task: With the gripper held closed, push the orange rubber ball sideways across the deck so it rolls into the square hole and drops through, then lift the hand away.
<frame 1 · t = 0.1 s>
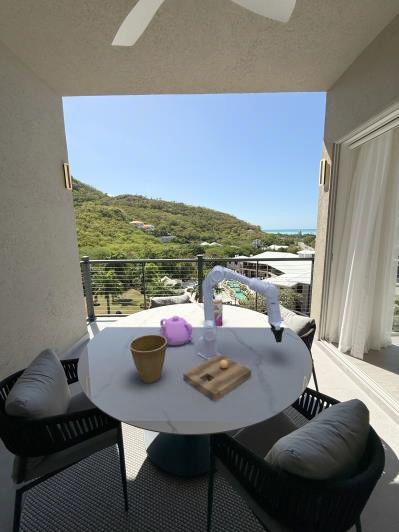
hand: (277, 338, 118), 11 cm above the table, tool pointing down, fingers open, 7 cm apart
deck: (217, 378, 106), on the table
ball: (223, 364, 108), point 5 cm above the table, touching deck
plant pot: (150, 378, 107), on the table
teapot: (174, 342, 139), on the table
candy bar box: (213, 325, 161), on the table
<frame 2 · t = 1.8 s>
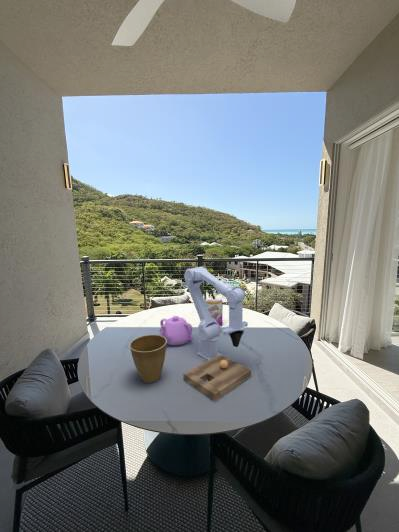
hand: (235, 345, 112), 10 cm above the table, tool pointing down, fingers closed
nothing on the table moved.
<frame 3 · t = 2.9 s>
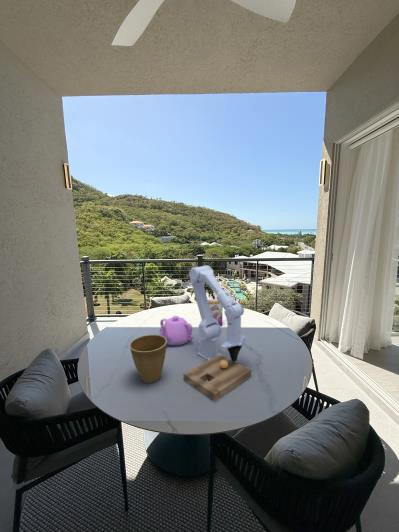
hand: (233, 360, 113), 4 cm above the table, tool pointing down, fingers closed
nothing on the table moved.
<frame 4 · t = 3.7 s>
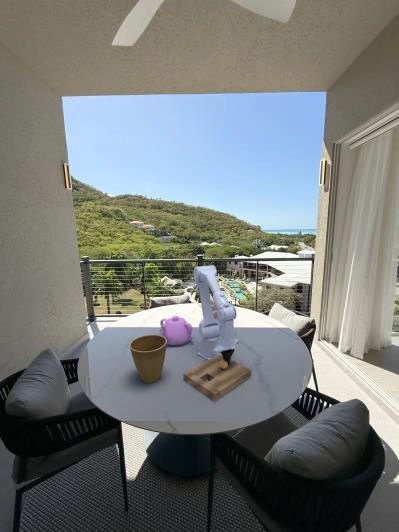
hand: (226, 364, 109), 4 cm above the table, tool pointing down, fingers closed, pressing on ball
ball: (223, 364, 108), point 5 cm above the table, tilted 8°, touching deck, gripper
everything else where it was.
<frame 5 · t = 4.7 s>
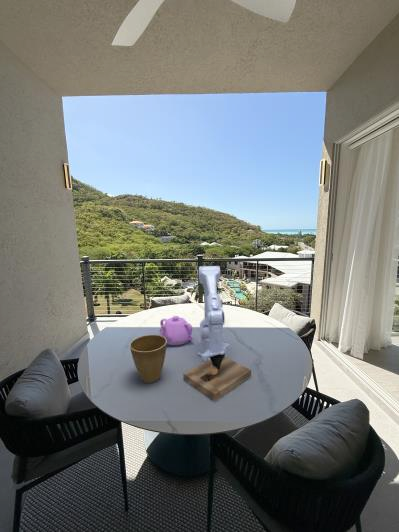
hand: (216, 370, 105), 4 cm above the table, tool pointing down, fingers closed, pressing on ball
ball: (213, 370, 104), point 5 cm above the table, tilted 146°, touching deck, gripper
everything else where it was.
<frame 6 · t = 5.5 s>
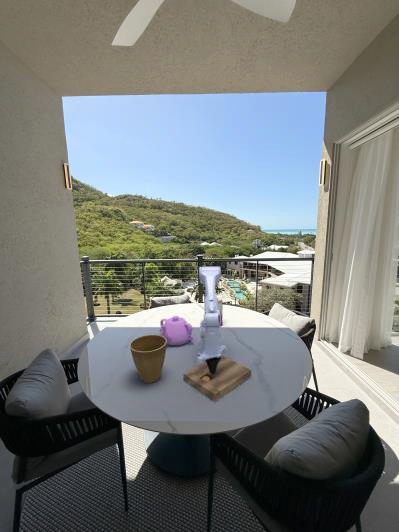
hand: (212, 372, 104), 4 cm above the table, tool pointing down, fingers closed
ball: (206, 380, 102), point 2 cm above the table, tilted 85°
everything else where it was.
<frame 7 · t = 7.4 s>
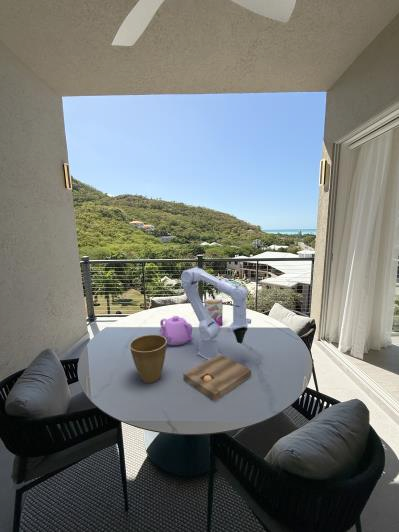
hand: (239, 342, 115), 10 cm above the table, tool pointing down, fingers closed
ball: (207, 379, 102), point 2 cm above the table, tilted 56°
everything else where it was.
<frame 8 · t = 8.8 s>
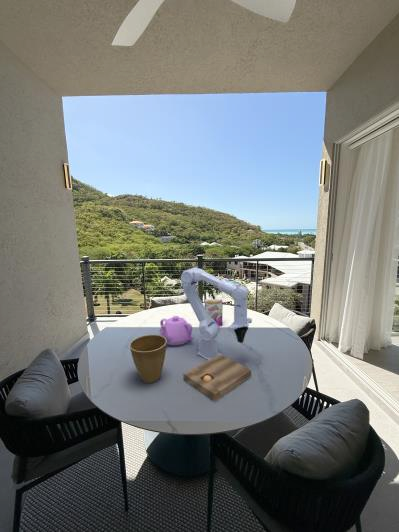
hand: (240, 341, 116), 10 cm above the table, tool pointing down, fingers closed
nothing on the table moved.
at the end: ball 0.4 cm from the target spot on the deck, point 1.7 cm above the deck's base; ball moved 10.2 cm from its start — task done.
